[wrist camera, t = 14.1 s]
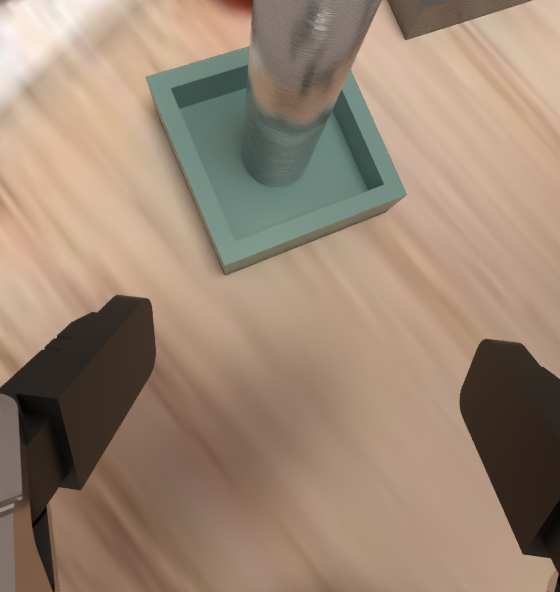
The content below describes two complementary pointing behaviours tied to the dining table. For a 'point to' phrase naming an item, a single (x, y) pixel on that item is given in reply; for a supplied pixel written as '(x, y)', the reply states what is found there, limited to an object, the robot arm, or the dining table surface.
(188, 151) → the tray
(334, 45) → the pin
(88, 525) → the dining table surface
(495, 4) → the block
